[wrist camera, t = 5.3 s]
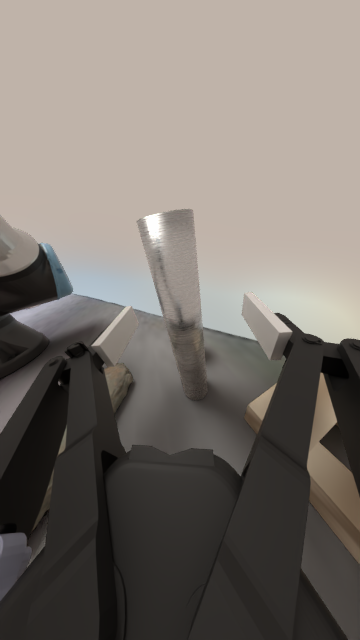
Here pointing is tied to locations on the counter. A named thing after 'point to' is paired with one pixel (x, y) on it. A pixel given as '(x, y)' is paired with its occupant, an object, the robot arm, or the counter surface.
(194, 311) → the steel pin
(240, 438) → the counter surface
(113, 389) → the elongated rock
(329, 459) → the guide block
